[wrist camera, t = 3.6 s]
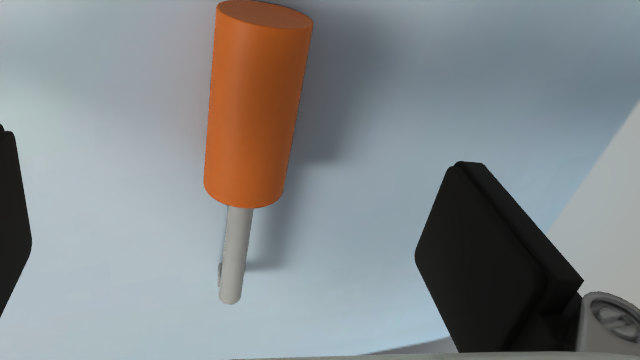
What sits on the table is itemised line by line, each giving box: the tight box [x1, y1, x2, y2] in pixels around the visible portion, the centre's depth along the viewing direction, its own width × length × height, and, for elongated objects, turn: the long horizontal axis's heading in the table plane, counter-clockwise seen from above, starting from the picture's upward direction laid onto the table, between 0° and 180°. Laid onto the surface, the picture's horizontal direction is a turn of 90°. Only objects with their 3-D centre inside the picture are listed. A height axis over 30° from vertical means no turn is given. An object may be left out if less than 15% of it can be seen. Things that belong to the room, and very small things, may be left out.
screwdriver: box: [203, 0, 313, 304], centre depth 17 cm, size 3×12×3 cm, turn 169°
